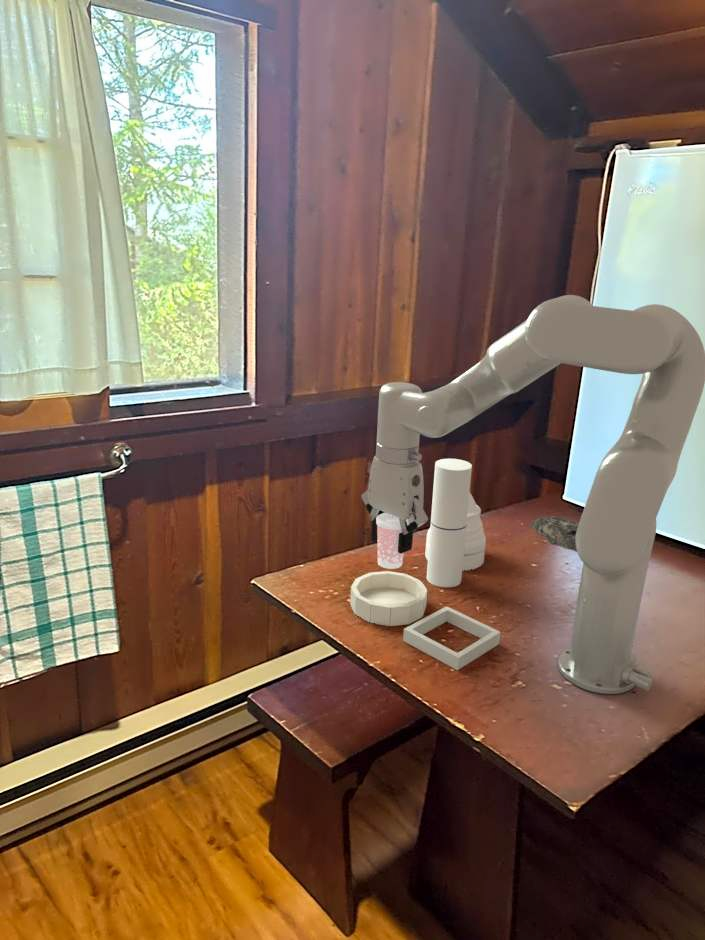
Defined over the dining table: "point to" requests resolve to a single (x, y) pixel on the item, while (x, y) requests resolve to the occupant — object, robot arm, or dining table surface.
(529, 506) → the dining table surface
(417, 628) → the open square frame
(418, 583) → the bowl
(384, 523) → the beverage cup
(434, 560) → the cylindrical container
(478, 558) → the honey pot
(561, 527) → the geode
